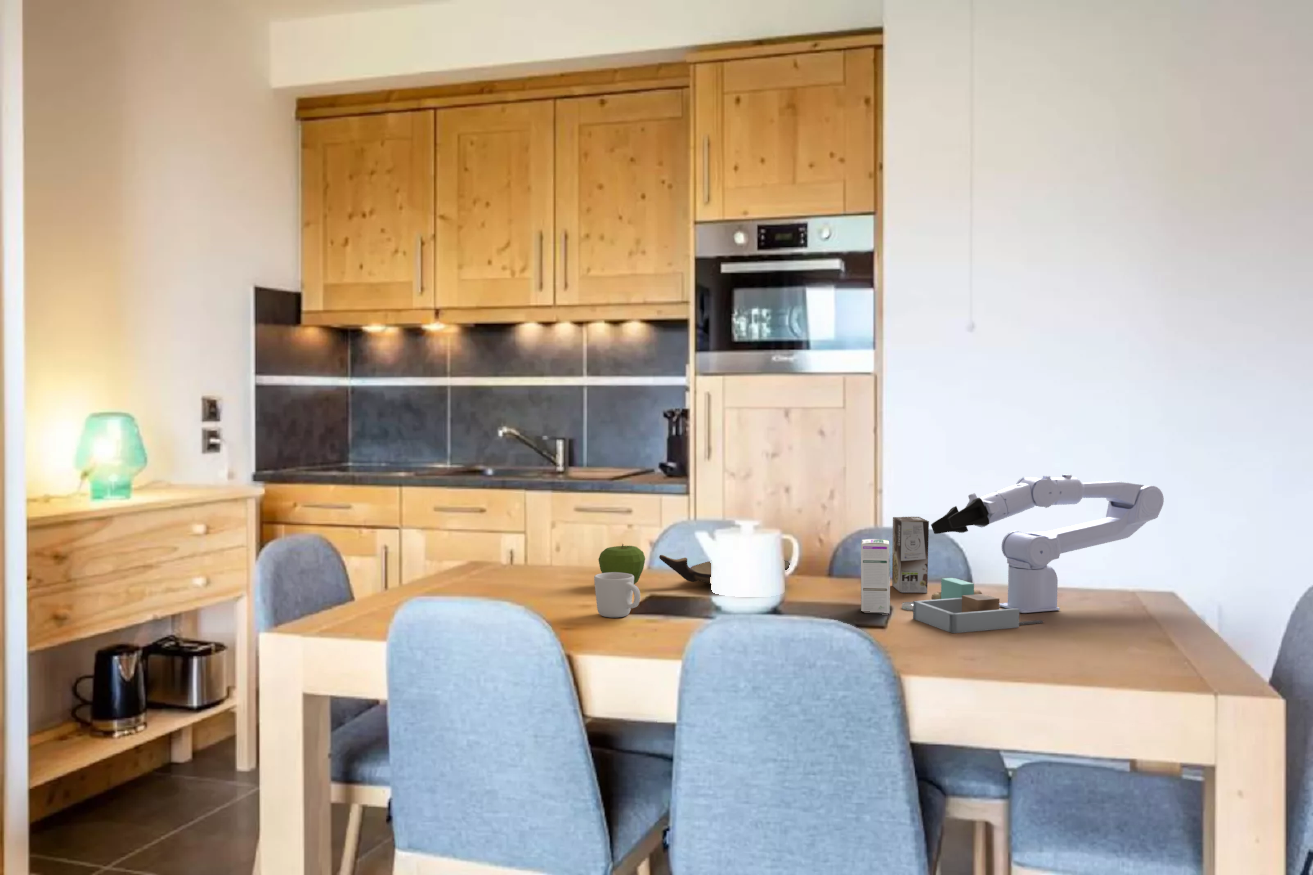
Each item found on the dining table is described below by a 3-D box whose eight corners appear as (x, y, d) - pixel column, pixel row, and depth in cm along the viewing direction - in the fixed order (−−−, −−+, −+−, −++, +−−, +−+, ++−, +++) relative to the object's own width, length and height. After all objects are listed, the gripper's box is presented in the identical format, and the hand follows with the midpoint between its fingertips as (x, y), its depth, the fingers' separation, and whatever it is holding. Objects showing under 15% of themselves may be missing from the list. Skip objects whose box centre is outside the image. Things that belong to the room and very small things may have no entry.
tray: (976, 613, 216) (976, 596, 216) (1018, 627, 204) (1019, 609, 204) (913, 618, 211) (913, 601, 211) (952, 633, 199) (952, 614, 198)
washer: (915, 607, 224) (915, 601, 223) (927, 611, 219) (928, 605, 219) (897, 608, 222) (897, 602, 222) (909, 612, 218) (909, 606, 218)
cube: (982, 618, 212) (983, 593, 211) (998, 624, 207) (999, 598, 207) (961, 620, 210) (962, 595, 210) (977, 626, 205) (977, 600, 205)
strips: (1010, 612, 217) (1010, 610, 217) (1043, 623, 208) (1043, 620, 208) (985, 614, 215) (985, 612, 215) (1017, 625, 206) (1017, 623, 206)
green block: (952, 606, 223) (953, 577, 223) (973, 613, 217) (974, 583, 217) (940, 607, 222) (941, 578, 222) (961, 614, 216) (961, 584, 216)
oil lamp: (791, 597, 232) (791, 562, 232) (655, 592, 237) (655, 558, 237) (794, 578, 254) (795, 546, 254) (670, 574, 259) (670, 543, 259)
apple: (624, 580, 250) (625, 538, 249) (655, 587, 242) (655, 543, 242) (588, 586, 242) (588, 543, 242) (618, 593, 235) (619, 548, 234)
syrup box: (889, 615, 214) (890, 543, 214) (859, 613, 215) (860, 542, 215) (889, 609, 220) (890, 539, 219) (860, 607, 221) (861, 538, 220)
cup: (652, 617, 211) (652, 577, 210) (624, 624, 205) (624, 582, 205) (614, 609, 218) (614, 570, 218) (585, 615, 212) (585, 575, 212)
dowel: (977, 599, 231) (978, 588, 231) (984, 601, 229) (984, 590, 229) (928, 603, 227) (929, 592, 227) (935, 605, 225) (935, 594, 225)
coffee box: (928, 593, 237) (929, 521, 236) (899, 593, 237) (900, 520, 236) (919, 585, 246) (920, 516, 245) (891, 585, 246) (892, 515, 245)
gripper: (974, 493, 225) (918, 513, 222) (1008, 480, 211) (950, 501, 208) (987, 525, 224) (931, 545, 221) (1022, 513, 210) (964, 535, 207)
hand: (941, 526), depth 214 cm, fingers open, 7 cm apart
